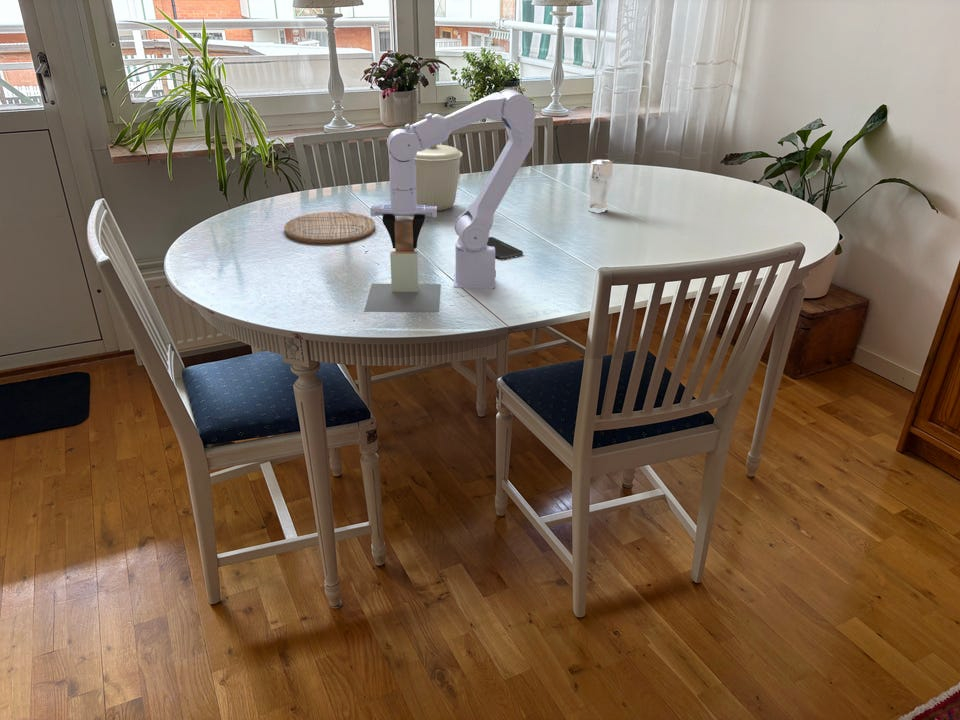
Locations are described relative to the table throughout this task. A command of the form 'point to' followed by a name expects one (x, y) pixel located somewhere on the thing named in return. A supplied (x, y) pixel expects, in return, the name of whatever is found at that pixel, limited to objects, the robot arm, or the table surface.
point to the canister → (437, 176)
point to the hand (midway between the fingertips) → (404, 247)
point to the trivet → (329, 228)
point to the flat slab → (404, 271)
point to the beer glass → (599, 182)
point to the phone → (503, 249)
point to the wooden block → (404, 234)
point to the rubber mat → (403, 299)
